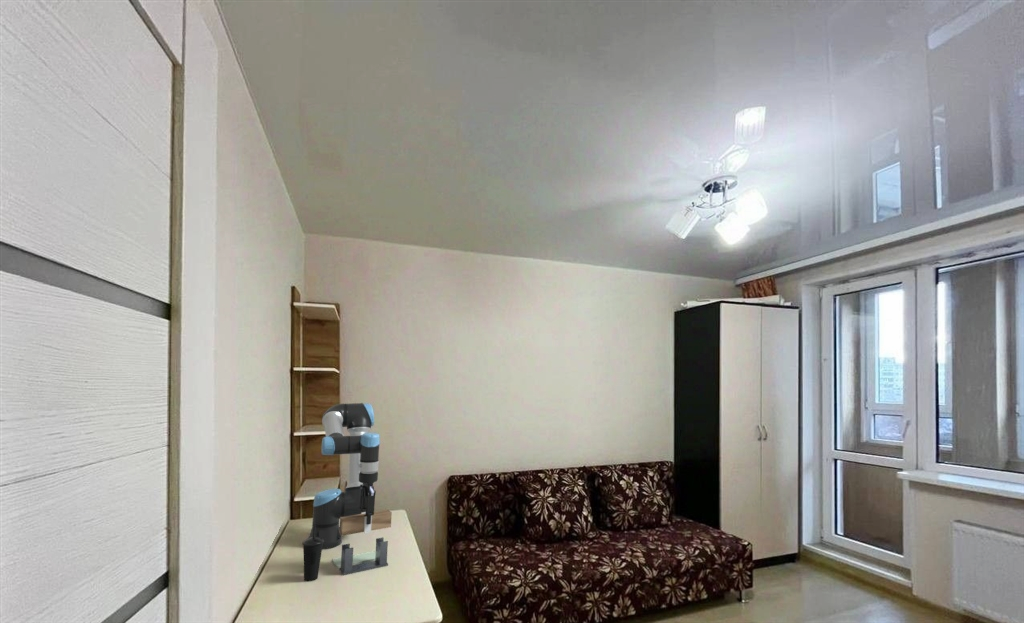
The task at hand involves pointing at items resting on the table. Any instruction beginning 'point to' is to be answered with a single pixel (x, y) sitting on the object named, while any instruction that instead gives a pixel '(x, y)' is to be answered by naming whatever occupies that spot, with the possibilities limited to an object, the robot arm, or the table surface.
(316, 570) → the drinking cup
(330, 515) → the robot arm
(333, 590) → the table surface
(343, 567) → the rack
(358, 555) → the mat
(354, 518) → the rail
